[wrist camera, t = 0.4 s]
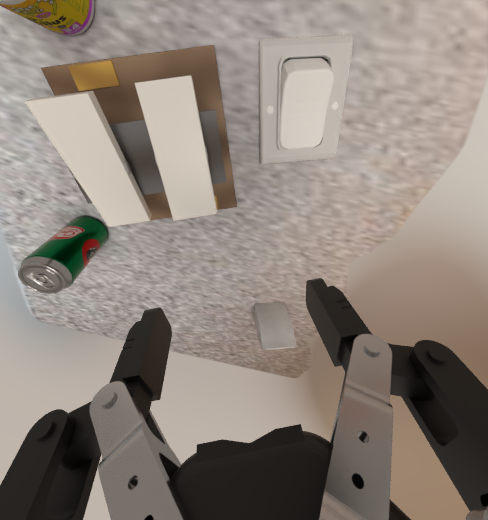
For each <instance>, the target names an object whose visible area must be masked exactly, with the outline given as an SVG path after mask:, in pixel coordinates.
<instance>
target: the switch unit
mask: <svg viewBox="0 0 488 520" xmlns="http://www.w3.org/2000/svg"><path fill="white" fill-rule="evenodd" d="M41 69H42V71H43V73H44V75H45V77H46V79H47V81H48V83H49V85H50V87H51V89H52V91H53V93H54V95H55V96H57V95H65V94H72V93H79V92H87V91H93V92H94V94H95V96H96V98H97V100H98V103H99V105H100V107H101V109H102V111H103V113H104V115H105V117H106V119H107V122H108V124H109V126H110V128H111V130H112V132H113V134H114V136H115V138H116V141H117V143H118V145H119V147H120V149H121V151H122V153H123V155H124V157H125V160H126V161H127V162H128V164H129V166H130V169H131V172H132V174H133V176H134V179H135V181H136V183H137V185H138V187H139V189H140V191H141V193H142V195H143V198H144V200H145V202H146V204H147V206H148V208H149V210H150V212H151V214H152V216H151V219H150V220H155V219H162V218H168V217H172V214H171V210H170V206H169V203H168V199H167V196H166V192H165V189H164V185H163V182H162V178H161V175H160V171H159V168H158V166H157V164H156V161H155V154H154V150H153V146H152V143H151V139H150V136H149V132H148V129H147V125H146V122H145V118H144V115H143V111H142V108H141V104H140V101H139V97H138V94H137V90H136V86H135V83H138V82H146V81H153V80H160V79H168V78H175V77H182V76H190V75H191V77H192V80H193V85H194V90H195V95H196V101H197V106H198V111H199V117H200V122H201V127H202V132H203V138H204V143H205V146H206V149H207V154H208V164H209V170H210V175H211V180H212V186H213V191H214V196H215V201H216V207H217V210H219V209H226V208H232V207H237V204H236V197H235V190H234V183H233V176H232V169H231V162H230V155H229V148H228V140H227V133H226V126H225V119H224V112H223V105H222V98H221V91H220V84H219V76H218V69H217V62H216V55H215V48H214V45H210V46H202V47H194V48H187V49H179V50H172V51H164V52H157V53H149V54H142V55H134V56H127V57H119V58H112V59H104V60H97V61H89V62H82V63H74V64H67V65H59V66H51V67H44V68H41ZM68 168H69V167H68ZM69 170H70V169H69ZM70 172H71V170H70ZM71 173H72V172H71ZM72 175H73V174H72ZM73 177H74V176H73ZM74 179H75V178H74ZM75 180H76V179H75ZM76 182H77V184H78V186H79V188H80V189H81V191H82V193H83V195H84V197H85V198H86V200H87V202H88V204H89V203H92V201H91V200H90V198H89V197H88V195H87V194H86V192H85V191H84V189H83V188H82V186H81V185H80V183H79V182H78V181H77V180H76Z"/></svg>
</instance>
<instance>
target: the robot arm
mask: <svg viewBox="0 0 488 520" xmlns="http://www.w3.org/2000/svg"><path fill="white" fill-rule="evenodd" d="M306 305H307V309H308V311H309V313H310V315H311V318H312V320H313V322H314V324H315V326H316V328H317V330H318V332H319V334H320V336H321V338H322V341H323V343H324V345H325V347H326V349H327V351H328V353H329V355H330V357H331V360H332V362H333V364H334V366H335V367H336V366H341V365H342V366H343V368H344V370H345V377H344V381H343V386H342V391H341V395H340V400H339V405H338V410H337V414H336V418H335V423H334V427H333V431H332V436H331V441H330V442H329V441H327V440H326V439H324V438H322V437H321V436H318V435H316V434H313V433H310V432H306V431H302V428H301V424H299V425H294V426H289V427H284V428H279V429H275V430H273V431H271V432H269V433H268V434H266V435H264V436H262V437H261V438H259V439H257V440H255V441H253V442H252V443H243V442H236V441H229V440H218V441H213V442H208V443H203V444H198V445H197V453H195V454H194V455H192V456H191V457H190V458H188V459H187V460H186V461H185V462H184V463H183V464H182V465H181V464H180V462H179V460H178V458H177V457H176V455H175V454H174V452H173V451H172V450H171V448H170V447H169V445H168V443H167V442H166V439H165V438H164V436H163V434H162V432H161V430H160V428H159V426H158V424H157V422H156V420H155V418H154V416H153V415H152V413H151V411H150V406H151V401H155V400H160V397H161V392H162V386H163V381H164V375H165V370H166V364H167V359H168V353H169V348H170V342H171V336H172V330H171V326H170V323H169V322H168V320H167V318H166V316H165V314H164V312H163V310H162V309H161V308H154V309H149V310H145V311H144V313H143V316H142V319H141V321H138V322H136V323H135V324H134V325H133V327H132V328H131V329H130V331H129V333H128V336H127V338H126V342H125V344H124V346H123V350H122V352H121V354H120V357H119V359H118V362H117V365H116V367H115V370H114V373H113V375H112V378H111V380H110V383H109V384H107V385H106V386H104V387H103V388H102V389H101V390H100V391H99V392H98V393H97V394H96V395H95V397H94V398H93V400H92V401H91V402H89V403H88V404H86V405H84V406H82V407H80V408H78V409H76V410H74V411H72V412H70V413H67V412H65V411H64V410H59V409H58V410H54V411H51V412H49V413H48V414H46V415H45V416H43V417H42V418H41V419H40V420H38V422H37V423H35V425H34V426H33V427H32V428H31V430H30V431H29V433H28V434H27V436H26V438H25V440H24V442H23V444H22V445H21V447H20V449H19V451H18V453H17V455H16V457H15V459H14V461H13V463H12V465H11V466H10V468H9V470H8V472H7V474H6V476H5V478H4V480H3V481H2V483H1V485H0V520H83V517H84V514H85V510H86V507H87V503H88V500H89V496H90V492H91V489H92V485H93V482H94V478H95V475H96V471H97V467H98V464H99V460H100V456H101V454H102V458H103V459H102V462H100V464H99V467H98V469H99V476H100V480H101V484H102V488H103V491H104V495H105V499H106V503H107V506H108V510H109V514H110V518H111V520H411V519H410V518H409V517H408V516H406V515H405V513H403V512H402V511H401V510H400V509H399V508H398V507H397V506H396V505H395V504H394V503H393V502H392V501H391V500H390V479H391V456H392V432H393V431H392V430H393V407H392V405H390V395H396V396H401V397H402V398H403V400H404V401H405V403H406V405H407V406H408V408H409V410H410V412H411V413H412V415H413V417H414V418H415V420H416V422H417V423H418V425H419V426H420V428H421V430H422V432H423V433H424V435H425V436H426V438H427V440H428V442H429V443H430V445H431V447H432V448H433V450H434V452H435V453H436V455H437V457H438V458H439V460H440V462H441V463H442V465H443V467H444V469H445V470H446V472H447V474H448V475H449V477H450V478H451V480H452V482H453V484H454V485H455V487H456V488H457V490H458V492H459V494H460V495H461V497H462V499H463V500H464V502H465V504H466V505H467V507H468V509H469V510H470V512H469V513H468V514H467V516H466V520H488V389H486V387H485V386H484V385H483V384H482V383H481V382H480V381H479V380H478V379H477V377H476V376H475V375H474V374H473V373H472V372H471V371H470V370H469V369H468V368H467V367H466V365H465V364H464V363H463V362H462V361H461V360H460V359H459V358H458V357H457V356H456V355H455V354H454V353H453V352H452V351H451V350H450V349H449V348H447V347H445V346H444V345H442V344H440V343H438V342H435V341H430V340H422V341H419V342H417V343H416V344H415V346H414V347H409V346H400V345H392V344H388V343H386V342H385V341H384V340H383V339H381V338H379V337H377V336H375V335H373V334H371V332H370V331H369V330H368V328H367V327H366V325H365V324H364V322H363V321H362V320H361V319H360V317H359V315H358V314H357V313H356V311H355V310H354V309H353V307H352V305H351V304H350V303H349V301H347V298H346V297H345V296H344V294H343V293H342V292H341V291H340V290H339V289H337V288H336V287H334V286H329V287H327V285H326V284H325V282H324V280H323V279H322V278H318V279H313V280H308V281H307V284H306Z"/></svg>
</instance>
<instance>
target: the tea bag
mask: <svg viewBox="0 0 488 520" xmlns="http://www.w3.org/2000/svg"><path fill="white" fill-rule="evenodd" d="M253 315H254V320H255V325H256V330H257V335H258V339H259V341H260V344H261V347H262V350H270V349H283V348H295V347H296V346H297V345H296V340H295V336H294V330H293V325H292V321H291V319H290V316H289V313H288V311H287V308H286V305H285V303H284V302H274V303H255V305H254V314H253Z"/></svg>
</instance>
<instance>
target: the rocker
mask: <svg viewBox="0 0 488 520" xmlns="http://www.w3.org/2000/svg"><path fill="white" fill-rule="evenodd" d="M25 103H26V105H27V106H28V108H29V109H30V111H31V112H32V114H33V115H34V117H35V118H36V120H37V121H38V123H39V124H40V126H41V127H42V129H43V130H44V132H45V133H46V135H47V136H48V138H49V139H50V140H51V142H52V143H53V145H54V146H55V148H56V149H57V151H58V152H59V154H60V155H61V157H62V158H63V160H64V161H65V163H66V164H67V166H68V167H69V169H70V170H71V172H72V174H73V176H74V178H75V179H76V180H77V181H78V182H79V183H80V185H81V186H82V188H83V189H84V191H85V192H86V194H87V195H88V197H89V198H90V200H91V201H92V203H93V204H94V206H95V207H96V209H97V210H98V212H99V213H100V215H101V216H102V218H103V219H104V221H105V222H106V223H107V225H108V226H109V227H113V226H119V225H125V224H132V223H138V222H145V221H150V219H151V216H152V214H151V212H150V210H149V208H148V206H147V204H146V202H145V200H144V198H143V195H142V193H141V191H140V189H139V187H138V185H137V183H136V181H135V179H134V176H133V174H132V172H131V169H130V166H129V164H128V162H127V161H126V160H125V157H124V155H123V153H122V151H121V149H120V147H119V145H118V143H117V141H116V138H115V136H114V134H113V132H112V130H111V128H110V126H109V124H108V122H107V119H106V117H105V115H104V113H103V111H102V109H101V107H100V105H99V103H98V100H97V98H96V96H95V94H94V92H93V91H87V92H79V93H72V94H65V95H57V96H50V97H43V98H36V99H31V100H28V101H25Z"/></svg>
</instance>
